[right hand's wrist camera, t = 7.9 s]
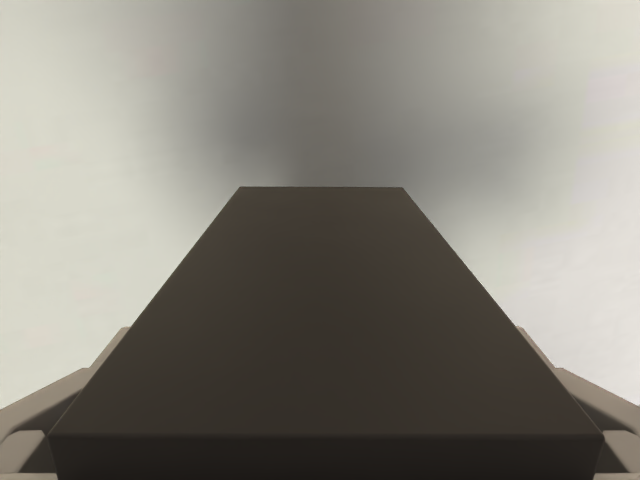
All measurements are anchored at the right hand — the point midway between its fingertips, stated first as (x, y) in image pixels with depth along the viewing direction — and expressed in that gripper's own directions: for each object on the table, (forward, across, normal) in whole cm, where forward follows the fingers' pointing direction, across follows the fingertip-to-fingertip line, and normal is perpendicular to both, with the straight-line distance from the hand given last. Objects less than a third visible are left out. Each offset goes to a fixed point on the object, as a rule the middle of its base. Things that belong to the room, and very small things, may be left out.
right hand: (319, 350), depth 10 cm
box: (+7, 0, +9) cm, 12 cm away
